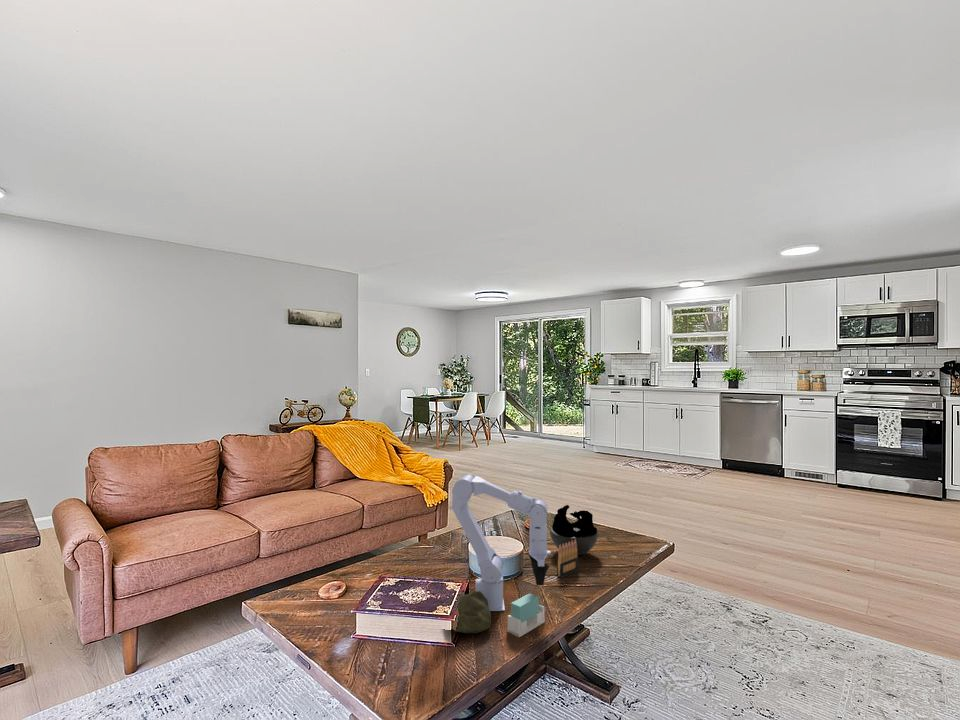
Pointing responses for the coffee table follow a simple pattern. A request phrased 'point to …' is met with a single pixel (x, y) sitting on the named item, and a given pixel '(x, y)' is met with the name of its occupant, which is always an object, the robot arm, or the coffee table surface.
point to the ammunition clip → (567, 559)
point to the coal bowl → (574, 530)
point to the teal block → (525, 607)
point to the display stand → (525, 623)
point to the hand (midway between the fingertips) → (538, 579)
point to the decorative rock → (473, 613)
